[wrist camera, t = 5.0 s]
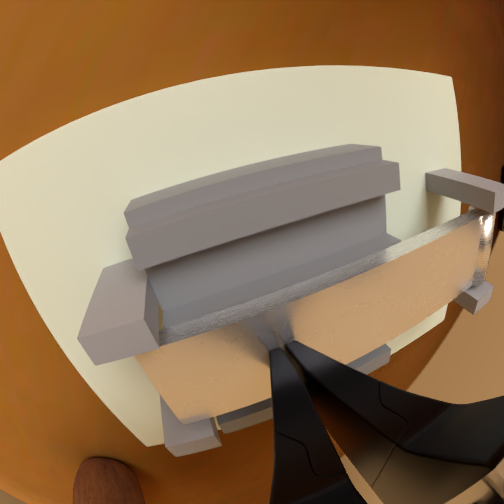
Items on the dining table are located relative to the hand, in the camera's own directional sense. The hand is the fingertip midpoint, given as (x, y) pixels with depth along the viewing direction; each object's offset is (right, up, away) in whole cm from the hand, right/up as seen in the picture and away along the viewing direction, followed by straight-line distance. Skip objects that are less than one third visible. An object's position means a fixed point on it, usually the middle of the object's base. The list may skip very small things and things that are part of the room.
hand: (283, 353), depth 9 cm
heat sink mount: (+1, +2, +5) cm, 5 cm away
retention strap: (+4, +2, +2) cm, 4 cm away
